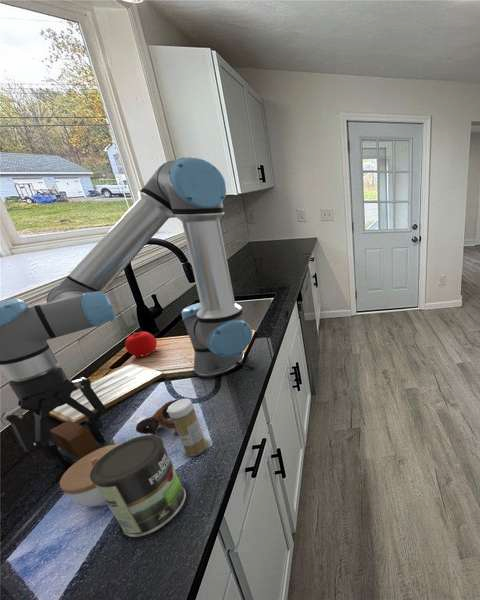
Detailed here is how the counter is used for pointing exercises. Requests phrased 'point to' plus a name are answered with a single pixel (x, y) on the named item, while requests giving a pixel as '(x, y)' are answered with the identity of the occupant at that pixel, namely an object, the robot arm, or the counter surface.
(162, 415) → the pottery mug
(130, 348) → the fruit
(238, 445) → the counter surface
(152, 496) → the coffee can
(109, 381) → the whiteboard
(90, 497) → the trinket box
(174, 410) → the sprinkles bottle
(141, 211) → the robot arm
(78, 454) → the eraser
